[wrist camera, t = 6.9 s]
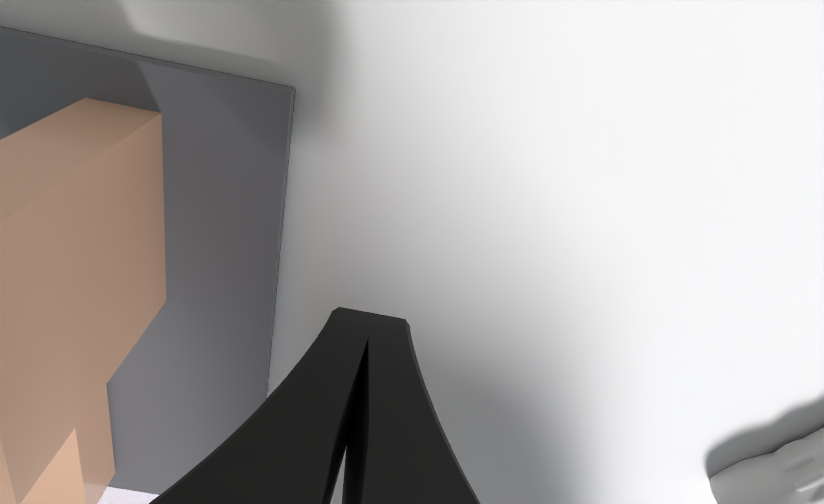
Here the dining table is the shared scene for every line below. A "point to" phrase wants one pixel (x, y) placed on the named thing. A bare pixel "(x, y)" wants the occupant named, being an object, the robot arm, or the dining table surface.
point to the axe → (776, 476)
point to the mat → (182, 241)
